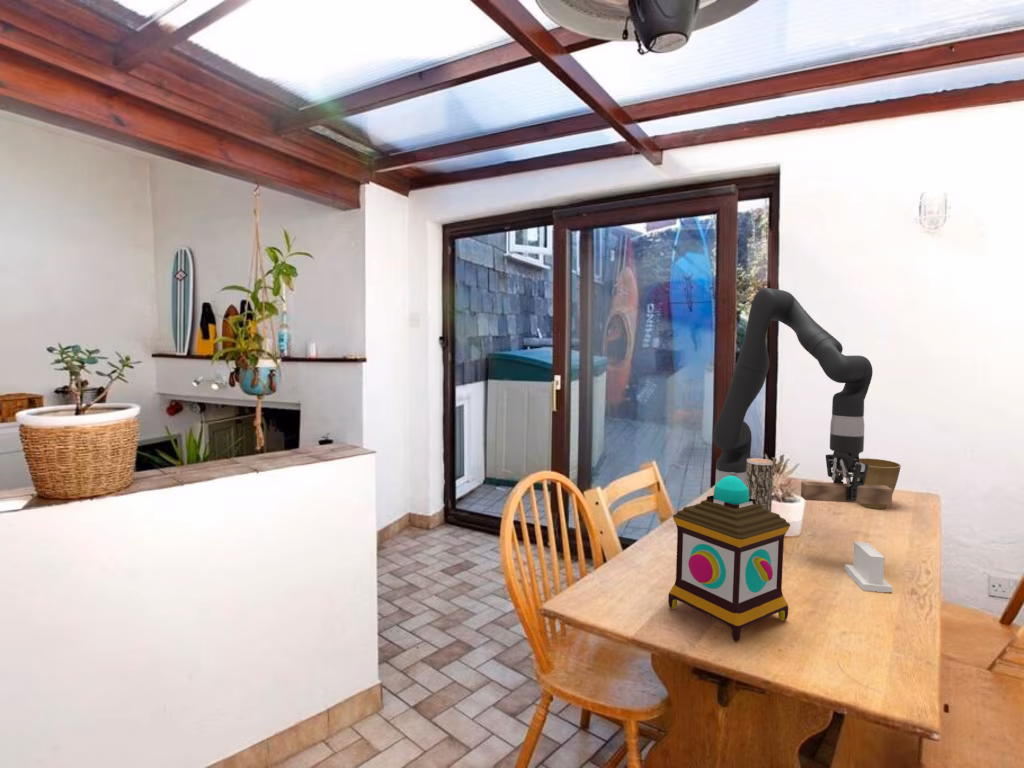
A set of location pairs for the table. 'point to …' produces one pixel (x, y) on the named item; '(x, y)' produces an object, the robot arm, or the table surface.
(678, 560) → the decorative lantern
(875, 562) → the white pedestal block
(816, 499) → the walnut bar
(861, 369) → the robot arm
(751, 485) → the log stump
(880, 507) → the plant pot
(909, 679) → the table surface
